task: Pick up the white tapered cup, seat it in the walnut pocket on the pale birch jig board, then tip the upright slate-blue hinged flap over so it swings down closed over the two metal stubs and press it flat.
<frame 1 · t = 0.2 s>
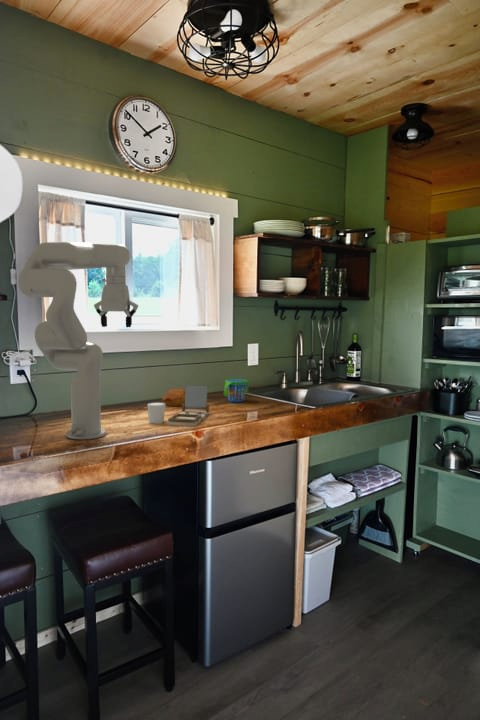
hand: (116, 326, 189), 36 cm above the countertop, tool pointing down, fingers open, 9 cm apart
white tapered cup: (156, 422, 190), on the countertop
flap: (196, 397, 205), point 7 cm above the countertop, hinge at 100.0°
croissant: (177, 404, 227), on the countertop
snack cup: (236, 401, 235), on the countertop
jig board: (189, 419, 195), on the countertop
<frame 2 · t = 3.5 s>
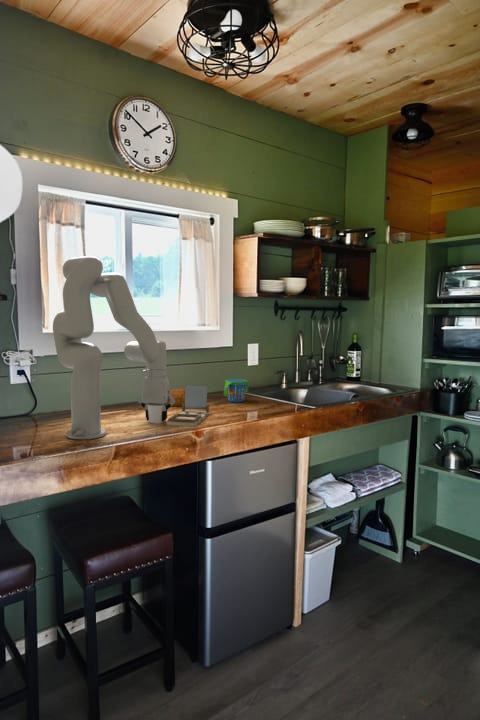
hand: (156, 419, 190), 1 cm above the countertop, tool pointing down, fingers closed on white tapered cup, 5 cm apart
white tapered cup: (156, 422, 190), on the countertop, touching gripper
everything else where it was.
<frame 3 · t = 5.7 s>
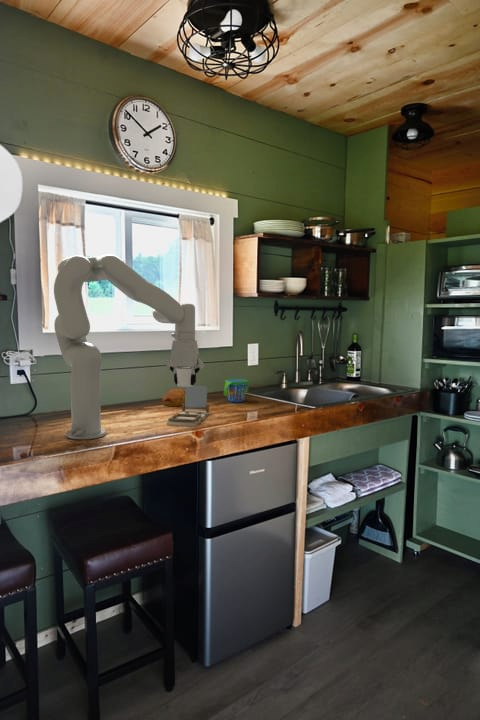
hand: (185, 383, 188), 15 cm above the countertop, tool pointing down, fingers closed on white tapered cup, 5 cm apart
white tapered cup: (185, 386, 189), point 14 cm above the countertop, touching gripper
everything else where it was.
when the fingers open (3 cm above the countertop, at t = 8.2 s): white tapered cup drops 1 cm, resting on jig board.
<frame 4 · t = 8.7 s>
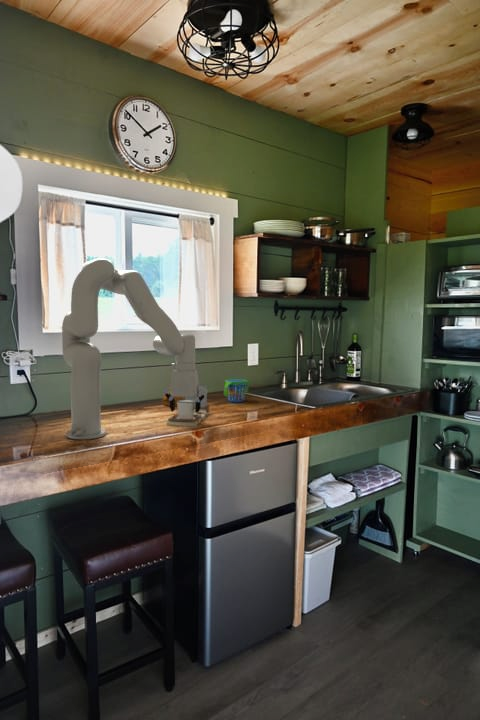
hand: (185, 411, 190), 4 cm above the countertop, tool pointing down, fingers open, 9 cm apart
white tapered cup: (185, 419, 190), point 1 cm above the countertop, touching jig board
everything else where it was.
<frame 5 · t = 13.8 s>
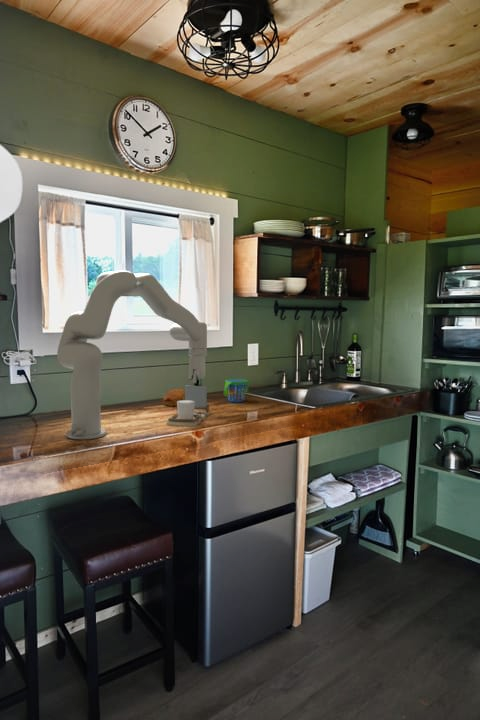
hand: (197, 395, 208), 7 cm above the countertop, tool pointing down, fingers closed
flap: (195, 397, 204), point 7 cm above the countertop, hinge at 92.8°, touching gripper
everything else where it was.
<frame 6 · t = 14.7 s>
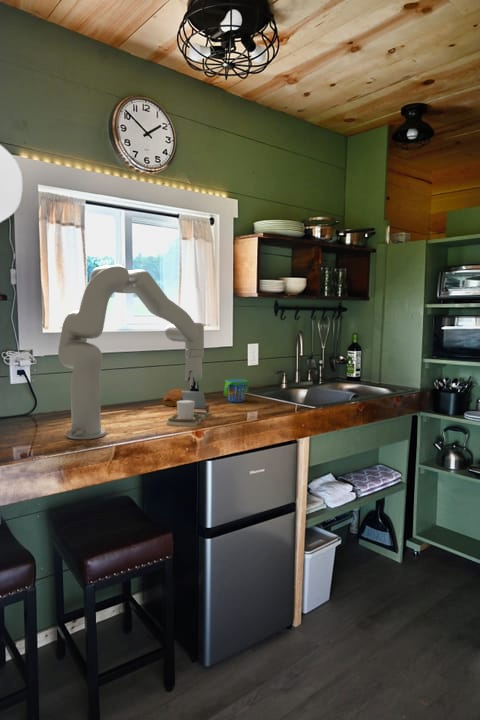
hand: (194, 397, 202), 7 cm above the countertop, tool pointing down, fingers closed
flap: (194, 400, 202), point 6 cm above the countertop, hinge at 55.1°, touching gripper
everything else where it was.
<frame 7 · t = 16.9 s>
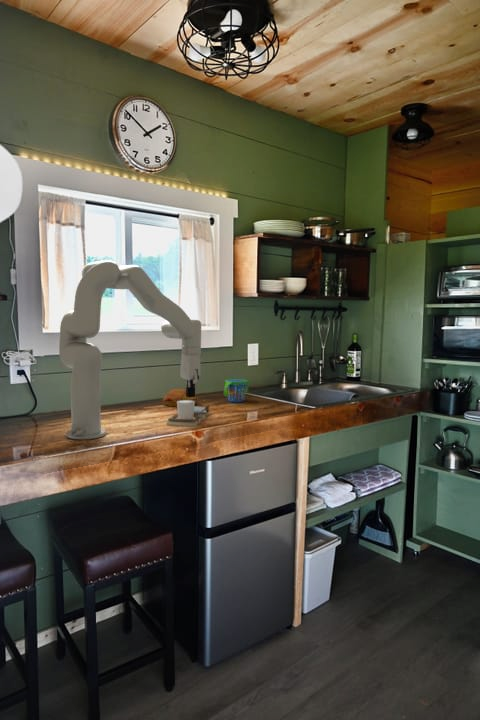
hand: (190, 396, 197), 8 cm above the countertop, tool pointing down, fingers closed
flap: (192, 409, 200), point 3 cm above the countertop, hinge at -0.3°
everything else where it was.
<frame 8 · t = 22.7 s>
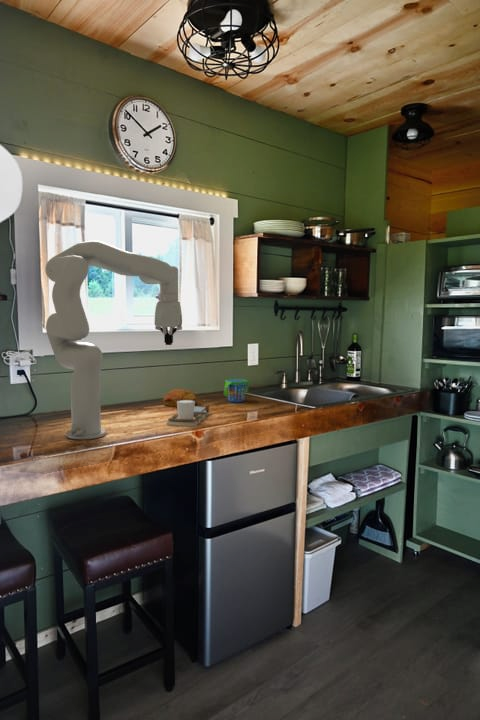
hand: (168, 344, 196), 29 cm above the countertop, tool pointing down, fingers closed
at the end: white tapered cup 0.4 cm from the target spot, point 1.0 cm above the countertop; white tapered cup tilted 0°; flap at +0° (first picture: +100°) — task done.
